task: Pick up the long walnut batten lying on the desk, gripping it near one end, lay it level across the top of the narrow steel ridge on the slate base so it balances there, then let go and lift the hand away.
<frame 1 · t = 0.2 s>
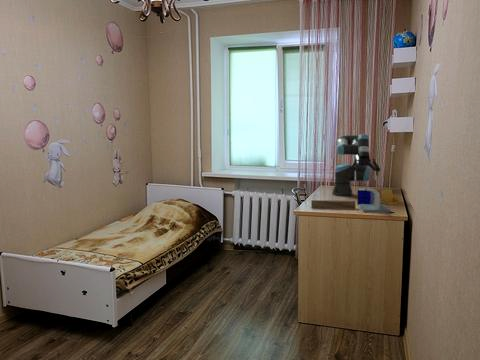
hand: (365, 179, 281), 16 cm above the table, tool tilted 35°, fingers open, 13 cm apart
steel ridge: (374, 199, 258), on the slate base, point 6 cm above the table
slate base: (374, 209, 259), on the table
walnut batten: (332, 208, 265), on the table
puzzle cube: (365, 203, 278), on the table
dollhouse swing: (389, 203, 278), on the table
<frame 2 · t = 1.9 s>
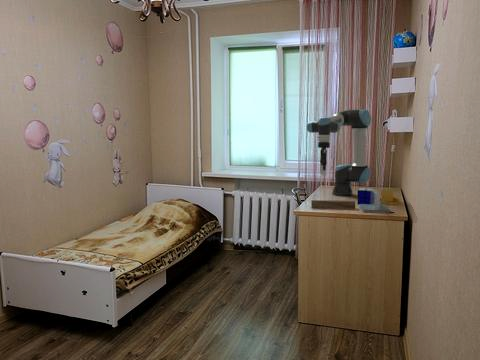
hand: (322, 174, 264), 22 cm above the table, tool pointing down, fingers open, 13 cm apart
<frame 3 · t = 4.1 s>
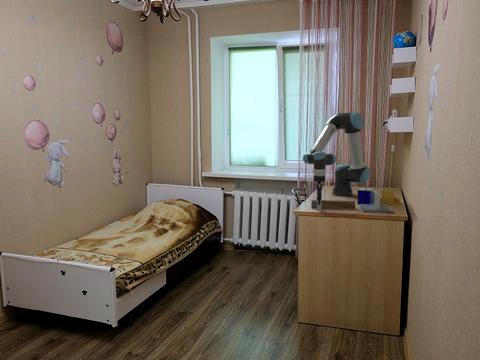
hand: (318, 207, 267), 0 cm above the table, tool pointing down, fingers open, 13 cm apart
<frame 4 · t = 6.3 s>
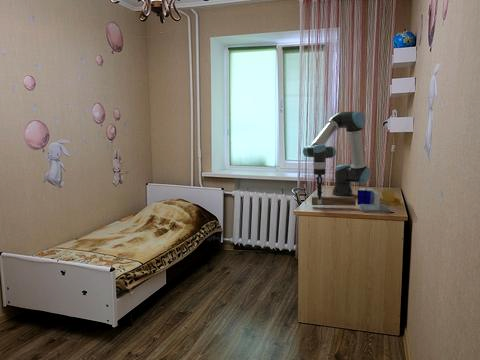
hand: (319, 203, 267), 3 cm above the table, tool pointing down, fingers closed on walnut batten, 3 cm apart
walnut batten: (333, 204, 265), point 2 cm above the table, touching gripper
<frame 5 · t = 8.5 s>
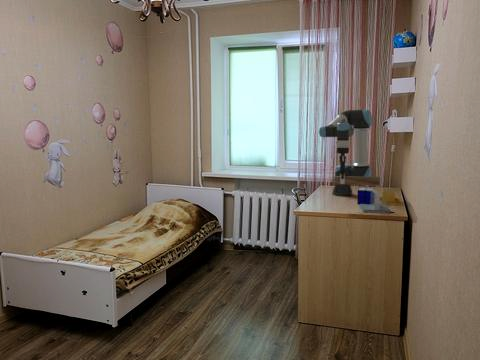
hand: (342, 183, 261), 17 cm above the table, tool pointing down, fingers closed on walnut batten, 3 cm apart
walnut batten: (356, 184, 259), point 16 cm above the table, touching gripper
when the fingers open (11 cm above the table, at t = 10.8 s): walnut batten stays where it is, resting on steel ridge.
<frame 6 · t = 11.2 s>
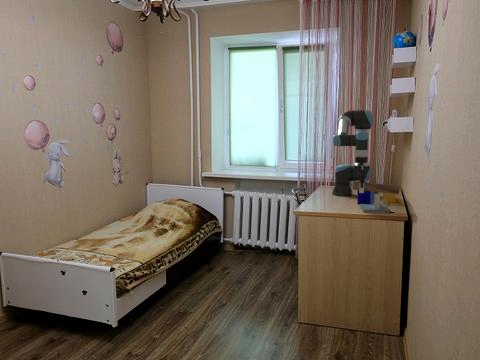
hand: (360, 191, 259), 11 cm above the table, tool pointing down, fingers open, 9 cm apart
walnut batten: (375, 191, 257), point 12 cm above the table, tilted 6°, touching steel ridge
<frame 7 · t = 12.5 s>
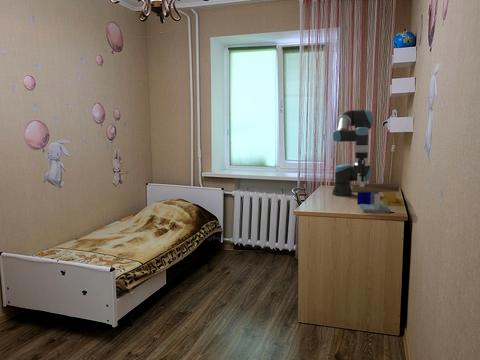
hand: (360, 184, 258), 16 cm above the table, tool pointing down, fingers open, 13 cm apart
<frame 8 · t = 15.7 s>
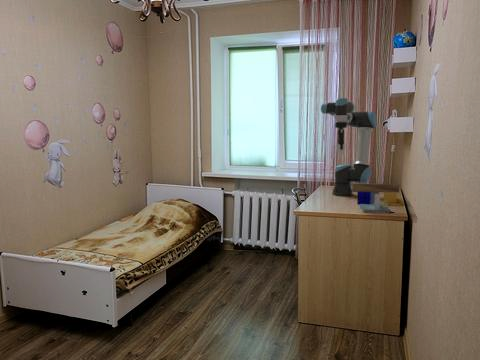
hand: (340, 153, 271), 35 cm above the table, tool pointing down, fingers open, 13 cm apart
at the end: walnut batten inside the target area on the steel ridge (0.1 cm from its centre), point 11.5 cm above the steel ridge's base; walnut batten tilted 0°; walnut batten touching steel ridge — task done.
